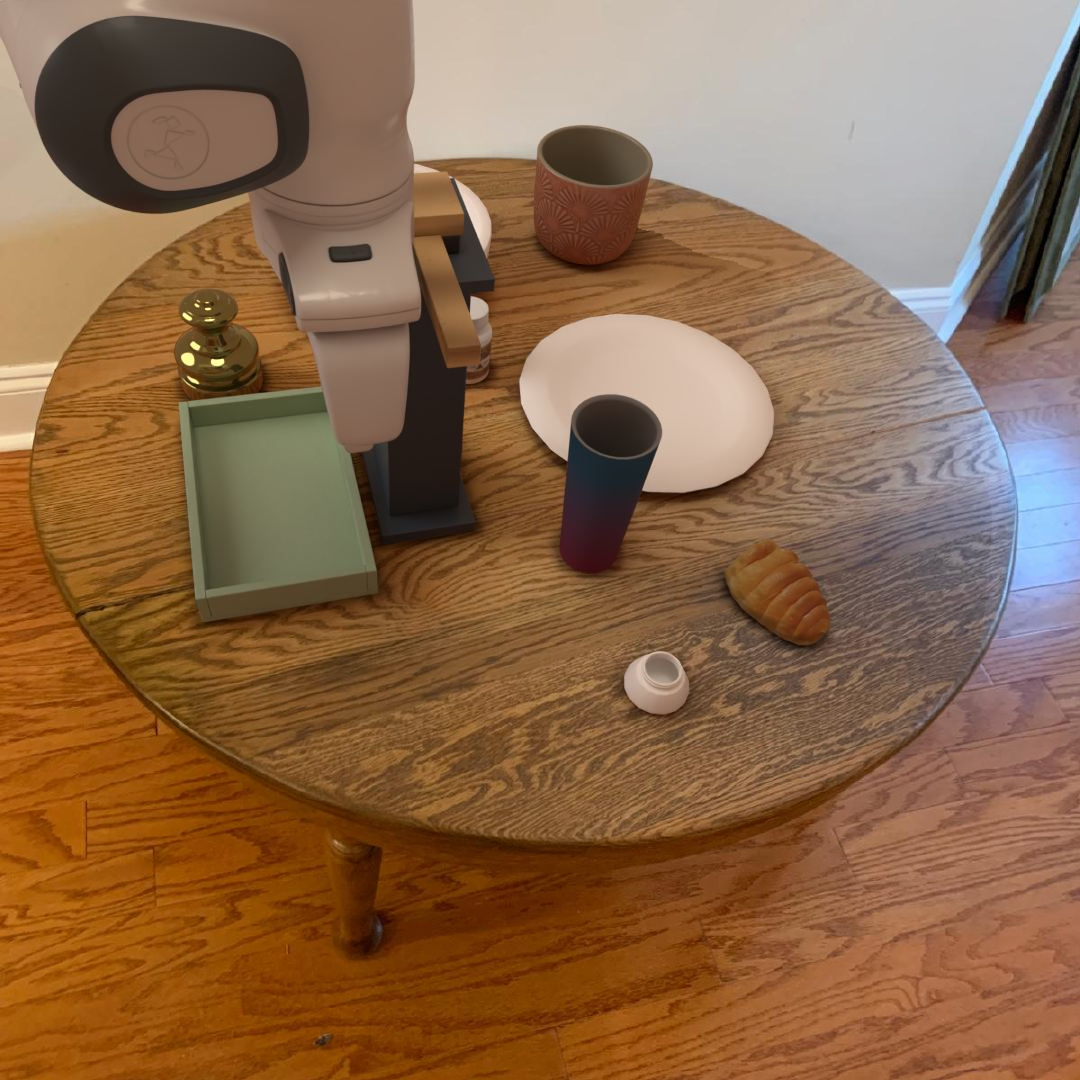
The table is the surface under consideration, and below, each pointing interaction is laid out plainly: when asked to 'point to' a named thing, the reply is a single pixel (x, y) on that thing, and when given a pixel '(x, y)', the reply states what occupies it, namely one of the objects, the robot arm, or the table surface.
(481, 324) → the pill bottle
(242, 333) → the brass bell weight
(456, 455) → the stand
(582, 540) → the cup
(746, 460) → the plate
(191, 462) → the tray
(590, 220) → the planter
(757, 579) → the pastry
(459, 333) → the brush
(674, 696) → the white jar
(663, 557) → the table surface
